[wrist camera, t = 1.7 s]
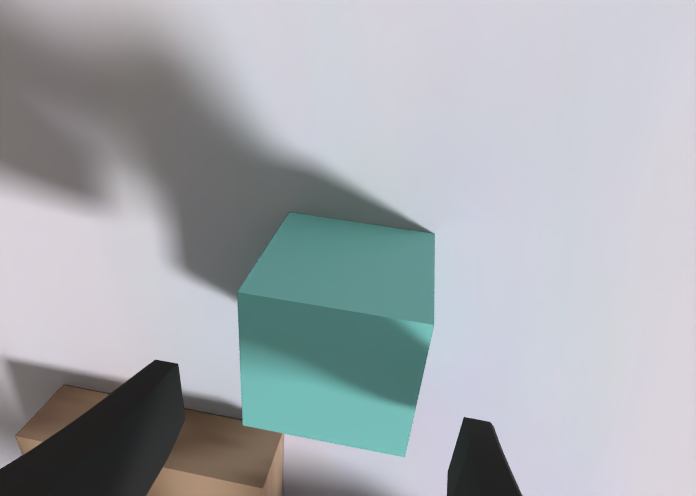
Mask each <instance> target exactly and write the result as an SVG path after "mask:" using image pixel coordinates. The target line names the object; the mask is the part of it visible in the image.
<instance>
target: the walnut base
mask: <svg viewBox="0 0 696 496" xmlns="http://www.w3.org/2000/svg"><path fill="white" fill-rule="evenodd" d="M108 395H109V394H107V393H101V392H96V391H91V390H86V389H81V388H76V387H71V386H66V385H63V386H62V387H61V388H60V389H59V390H58V391H57V392H56V393H55V394H54V395H53V396H52V397H51V398H50V399H49V401H48V402H47V403H46V404H45V405H44V406H43V407H42V408H41V409H40V410H39V411H38V412H37V413H36V414H35V415H34V417H33V418H32V419H31V420H30V421H29V422H28V423H27V424H26V425H25V426H24V427H23V428H22V429H21V430H20V431H19V432H18V434H17V435H16V436H15V437H16V439H17V442H18V444H19V447H20V449H21V452H22V454H23V455H24V454H25V453H27V452H28V451H30V450H32V449H33V448H35V447H36V446H38V445H39V444H40V443H42V442H43V441H45V440H46V439H48V438H49V437H51V436H52V435H54V434H55V433H57V432H58V431H60V430H61V429H63V428H64V427H66V426H67V425H68V424H70V423H71V422H73V421H74V420H75V419H77V418H78V417H80V416H81V415H82V414H84V413H85V412H86V411H88V410H89V409H90V408H92V407H93V406H95V405H96V404H97V403H99V402H100V401H101V400H103V399H104V398H105V397H107V396H108ZM184 412H185V421H184V424H183V426H182V428H181V431H180V433H179V435H178V437H177V440H176V442H175V444H174V446H173V449H172V451H171V453H170V455H169V457H168V459H167V461H166V463H165V464H164V466H163V468H162V470H161V471H160V473H159V475H158V476H157V478H156V480H155V482H154V483H153V485H152V487H151V488H150V490H149V492H148V493H147V495H146V496H282V490H283V447H284V433H279V432H274V431H269V430H264V429H259V428H254V427H249V426H243V420H238V419H233V418H228V417H223V416H218V415H212V414H207V413H202V412H197V411H192V410H187V409H184Z"/></svg>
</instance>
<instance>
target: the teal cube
mask: <svg viewBox="0 0 696 496" xmlns="http://www.w3.org/2000/svg"><path fill="white" fill-rule="evenodd" d="M434 255H435V234H433V233H427V232H420V231H413V230H407V229H400V228H393V227H386V226H380V225H373V224H366V223H360V222H353V221H346V220H340V219H333V218H326V217H320V216H313V215H306V214H299V213H293V212H289V213H288V215H287V216H286V218H285V219H284V221H283V222H282V224H281V226H280V227H279V229H278V230H277V232H276V233H275V235H274V236H273V238H272V239H271V241H270V242H269V244H268V246H267V247H266V249H265V250H264V252H263V253H262V255H261V256H260V258H259V259H258V261H257V262H256V264H255V266H254V267H253V269H252V270H251V272H250V273H249V275H248V276H247V278H246V279H245V281H244V282H243V284H242V286H241V287H240V289H239V290H238V292H237V298H238V323H239V347H240V372H241V396H242V420H243V426H249V427H254V428H259V429H264V430H269V431H274V432H279V433H284V434H289V435H294V436H299V437H305V438H310V439H315V440H320V441H325V442H330V443H335V444H340V445H345V446H350V447H355V448H360V449H366V450H371V451H376V452H381V453H386V454H391V455H396V456H401V457H405V454H406V450H407V445H408V441H409V436H410V432H411V427H412V422H413V418H414V413H415V409H416V404H417V400H418V395H419V391H420V386H421V382H422V377H423V373H424V368H425V364H426V359H427V354H428V350H429V345H430V341H431V336H432V332H433V327H434Z"/></svg>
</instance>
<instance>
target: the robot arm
mask: <svg viewBox="0 0 696 496" xmlns="http://www.w3.org/2000/svg"><path fill="white" fill-rule="evenodd" d="M184 421H185V412H184V405H183V397H182V390H181V382H180V374H179V367H178V364H176V363H171V362H165V361H160V360H154V361H153V362H152V363H150V364H149V365H148V366H146V367H145V368H144V369H142V370H141V371H140V372H138V373H137V374H136V375H134V376H133V377H132V378H130V379H129V380H128V381H126V382H125V383H124V384H123V385H121V386H120V387H119V388H117V389H116V390H115V391H113V392H112V393H111V394H109V395H108V396H107V397H105V398H104V399H103V400H101V401H100V402H99V403H97V404H96V405H95V406H93V407H92V408H90V409H89V410H88V411H86V412H85V413H84V414H82V415H81V416H80V417H78V418H77V419H75V420H74V421H73V422H71V423H70V424H68V425H67V426H66V427H64V428H63V429H61V430H60V431H58V432H57V433H55V434H54V435H52V436H51V437H49V438H48V439H46V440H45V441H43V442H42V443H40V444H39V445H38V446H36V447H35V448H33V449H32V450H30V451H28V452H27V453H25V454H24V455H22V456H21V457H19V458H17V459H16V460H14V461H13V462H11V463H9V464H8V465H6V466H5V467H3V468H1V469H0V496H146V495H147V493H148V492H149V490H150V488H151V487H152V485H153V483H154V482H155V480H156V478H157V476H158V475H159V473H160V471H161V470H162V468H163V466H164V464H165V463H166V461H167V459H168V457H169V455H170V453H171V451H172V449H173V446H174V444H175V442H176V440H177V437H178V435H179V433H180V431H181V428H182V426H183V424H184ZM447 496H522V494H521V492H520V490H519V487H518V485H517V483H516V481H515V479H514V476H513V474H512V472H511V469H510V467H509V465H508V462H507V460H506V458H505V455H504V453H503V450H502V448H501V445H500V443H499V440H498V437H497V435H496V432H495V429H494V426H493V425H492V424H491V423H490V422H487V421H482V420H477V419H471V418H466V417H464V419H463V422H462V426H461V429H460V432H459V436H458V439H457V442H456V446H455V449H454V452H453V456H452V459H451V462H450V466H449V469H448V482H447Z"/></svg>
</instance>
